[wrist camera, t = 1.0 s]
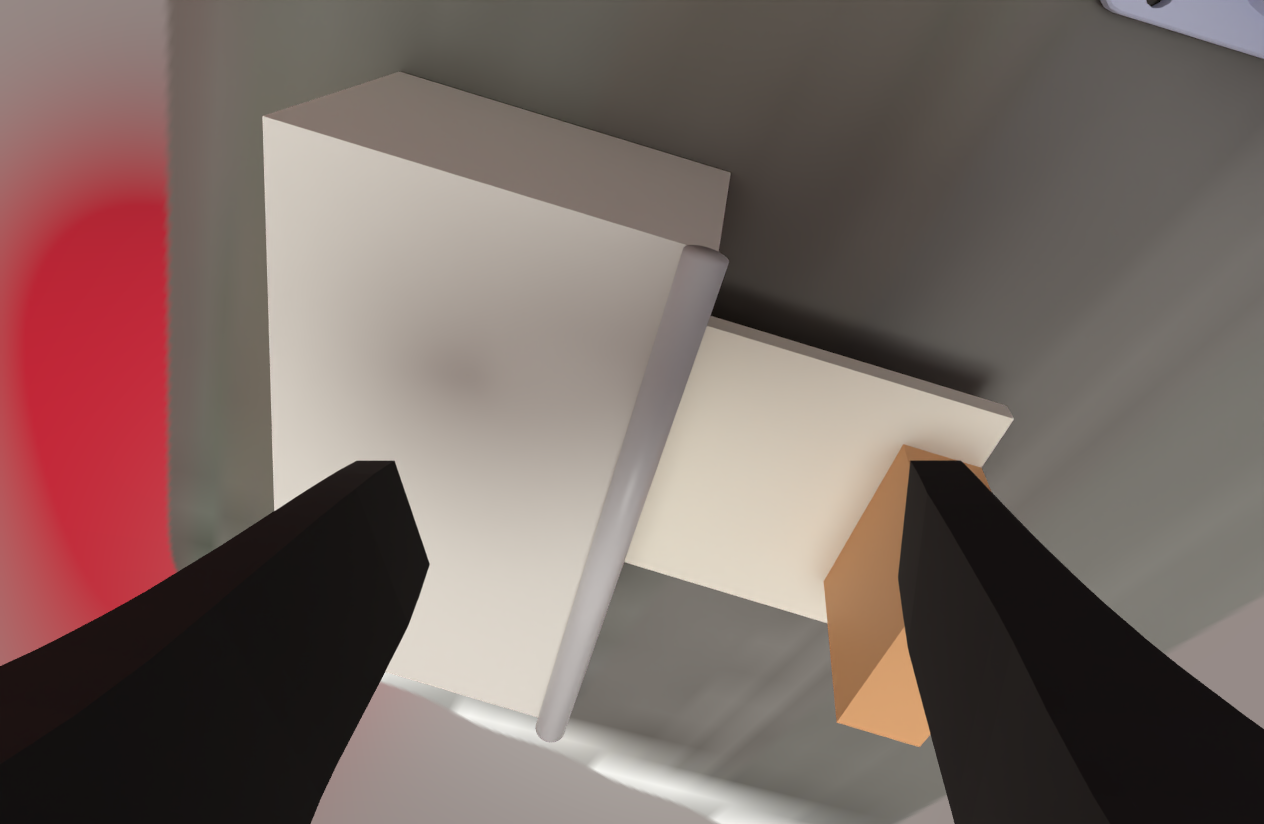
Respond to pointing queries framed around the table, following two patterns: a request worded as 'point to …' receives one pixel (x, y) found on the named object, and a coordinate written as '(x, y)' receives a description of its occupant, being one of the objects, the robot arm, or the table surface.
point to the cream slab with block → (809, 498)
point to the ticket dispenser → (486, 355)
